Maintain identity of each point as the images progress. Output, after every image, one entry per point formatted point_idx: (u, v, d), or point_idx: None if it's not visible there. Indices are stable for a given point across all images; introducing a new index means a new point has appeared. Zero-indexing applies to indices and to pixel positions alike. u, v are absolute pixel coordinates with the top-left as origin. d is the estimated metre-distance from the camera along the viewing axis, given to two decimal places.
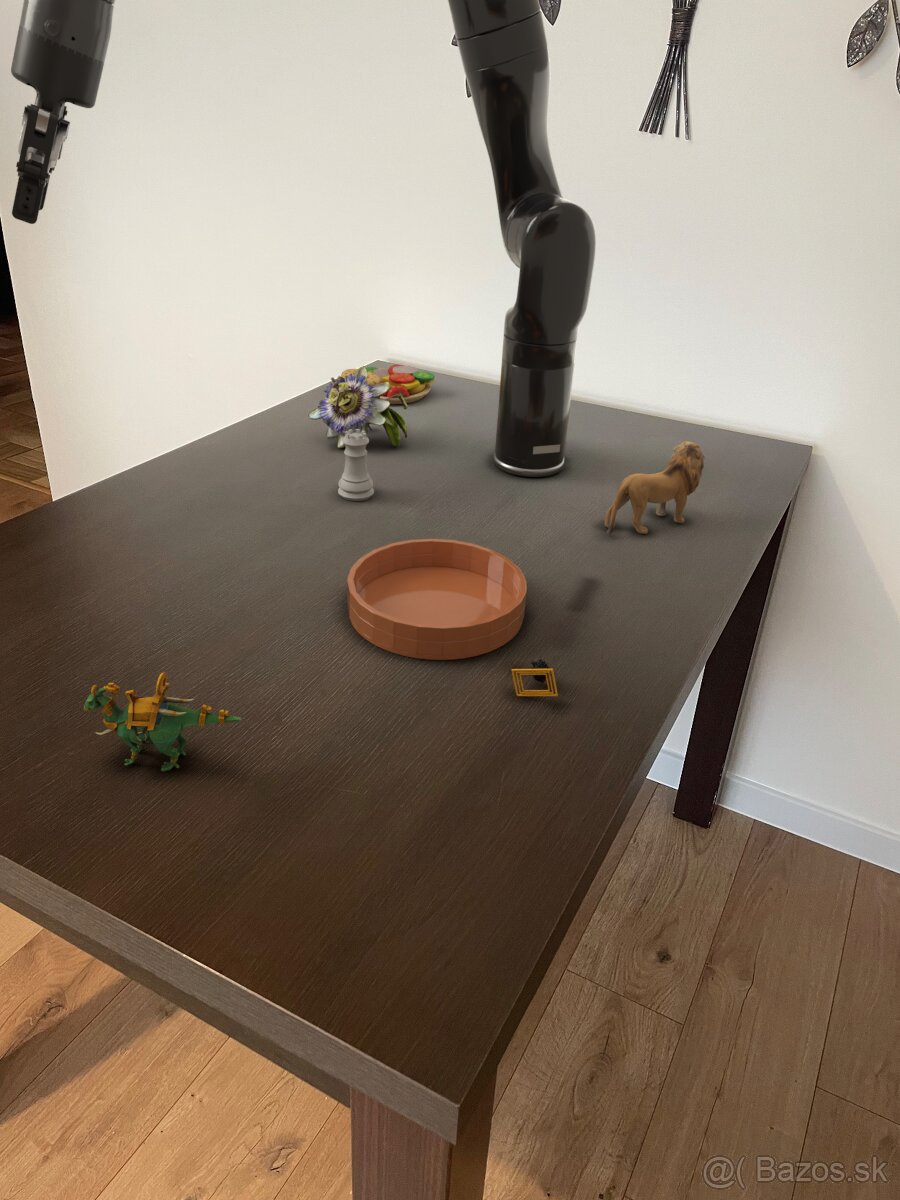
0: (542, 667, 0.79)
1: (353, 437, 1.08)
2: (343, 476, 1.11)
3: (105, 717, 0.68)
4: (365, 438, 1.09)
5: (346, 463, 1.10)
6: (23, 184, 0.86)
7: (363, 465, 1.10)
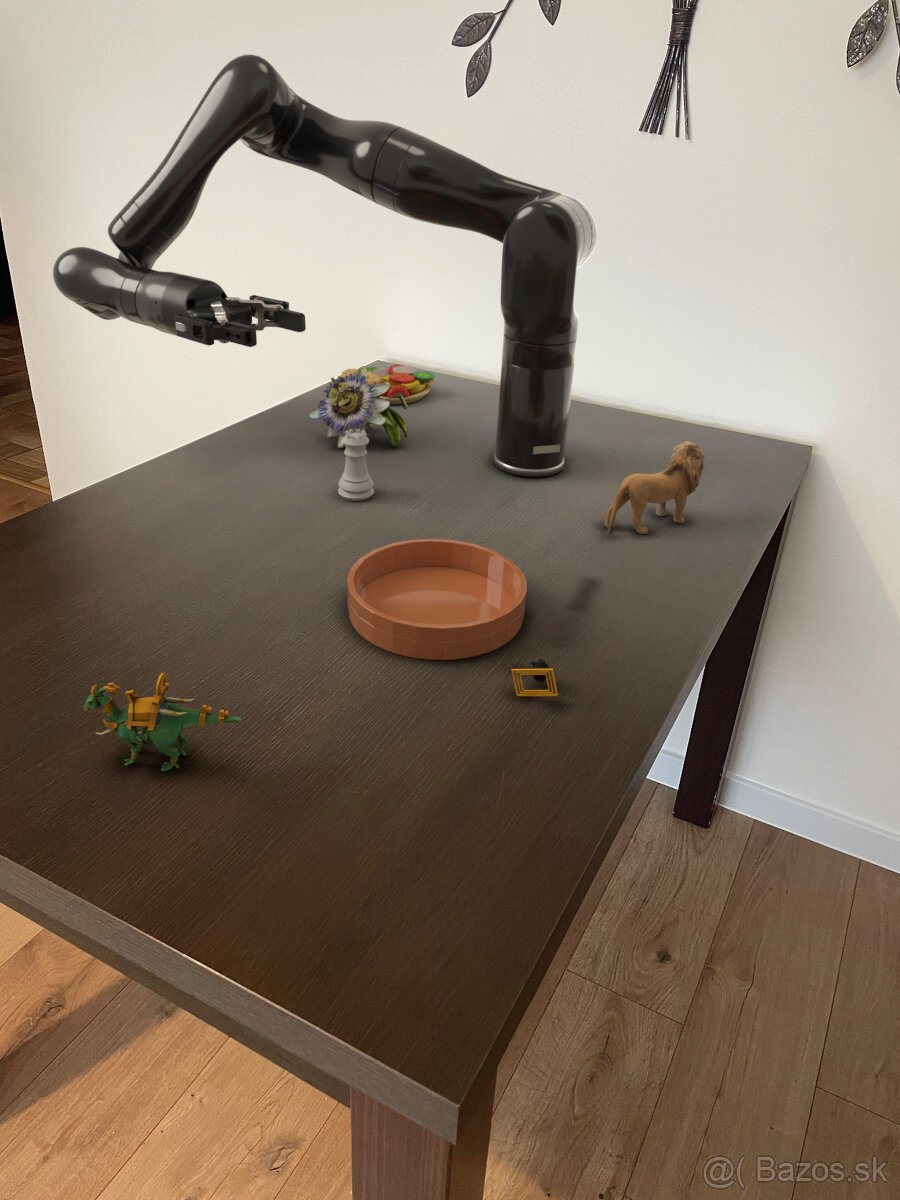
0: (542, 667, 0.79)
1: (353, 437, 1.08)
2: (343, 476, 1.11)
3: (105, 717, 0.68)
4: (365, 438, 1.09)
5: (346, 463, 1.10)
6: (226, 338, 1.06)
7: (363, 465, 1.10)
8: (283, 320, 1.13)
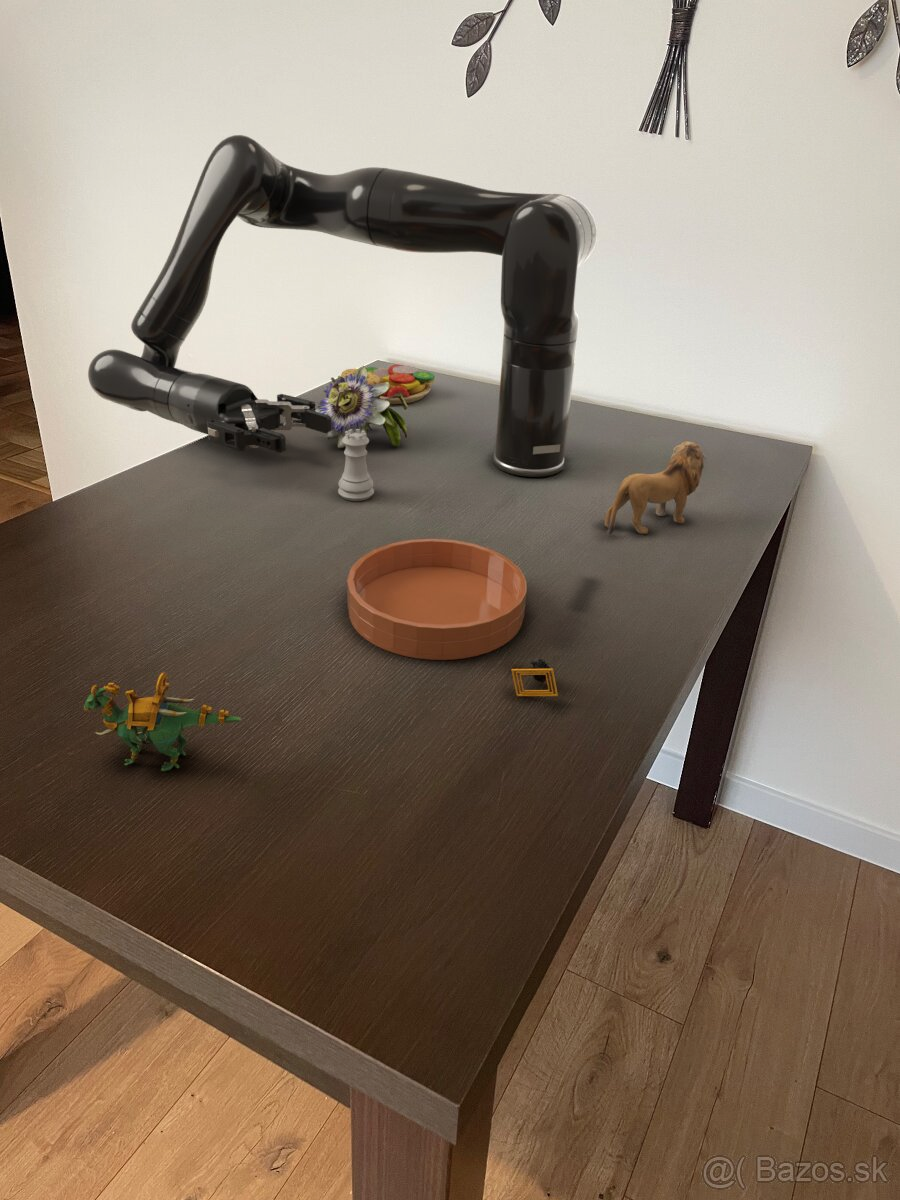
0: (542, 667, 0.79)
1: (353, 437, 1.08)
2: (343, 476, 1.11)
3: (105, 717, 0.68)
4: (365, 438, 1.09)
5: (346, 463, 1.10)
6: (257, 444, 1.11)
7: (363, 465, 1.10)
8: (310, 421, 1.18)
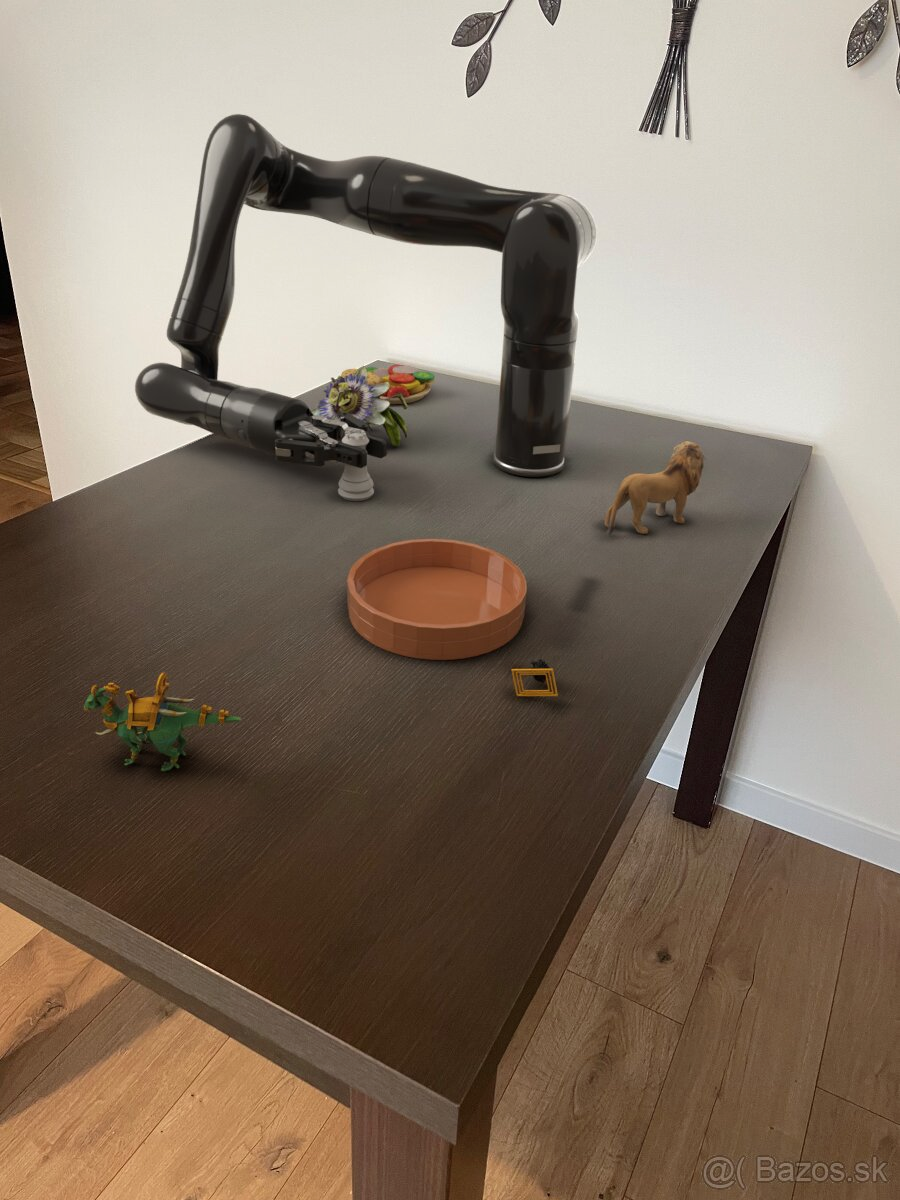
0: (542, 667, 0.79)
1: (353, 437, 1.08)
2: (343, 476, 1.11)
3: (105, 717, 0.68)
4: (365, 438, 1.09)
5: None
6: (336, 459, 1.08)
7: None
8: None
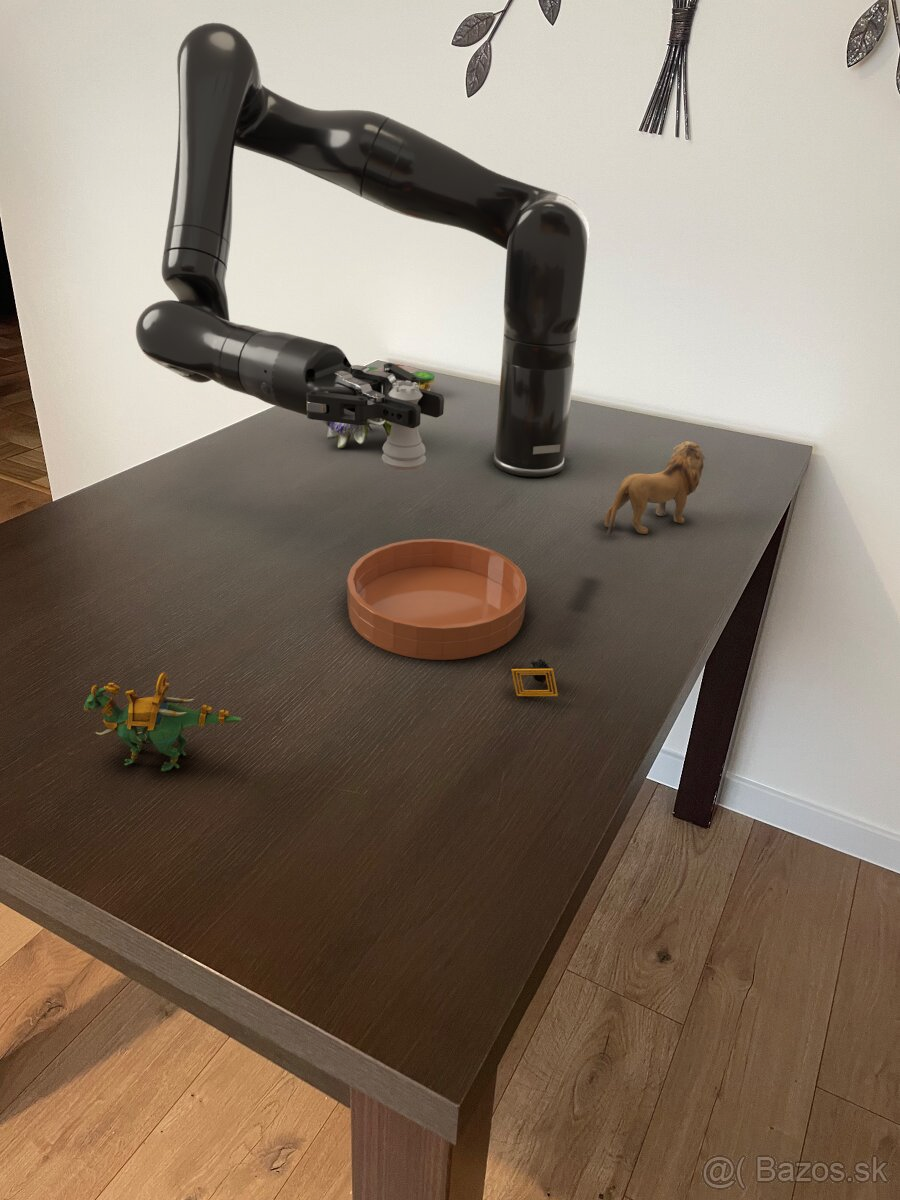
0: (542, 667, 0.79)
1: (403, 389, 0.87)
2: (389, 439, 0.90)
3: (105, 717, 0.68)
4: (418, 392, 0.88)
5: (393, 423, 0.90)
6: (382, 417, 0.87)
7: None
8: None
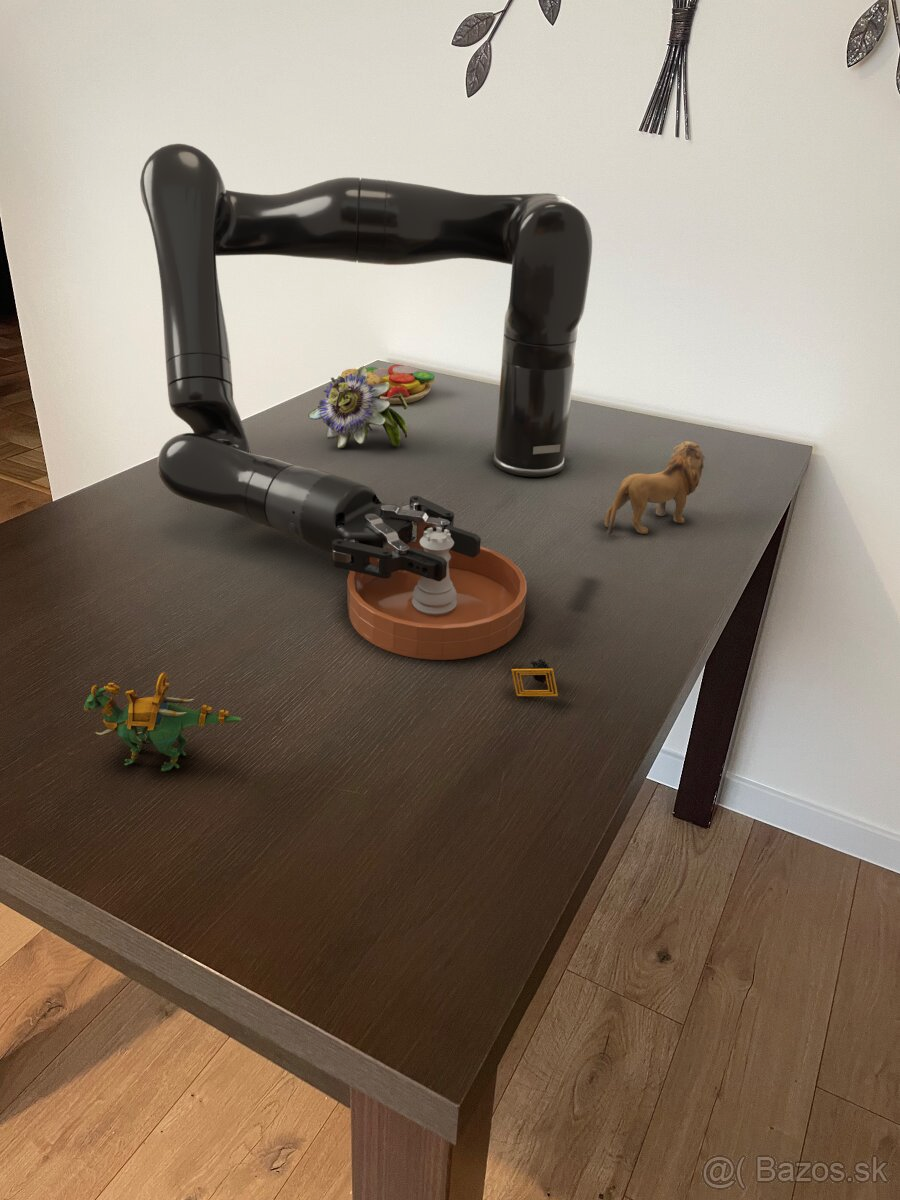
0: (542, 667, 0.79)
1: (435, 539, 0.85)
2: (419, 585, 0.89)
3: (105, 717, 0.68)
4: (450, 540, 0.86)
5: None
6: (407, 569, 0.85)
7: (446, 572, 0.88)
8: None
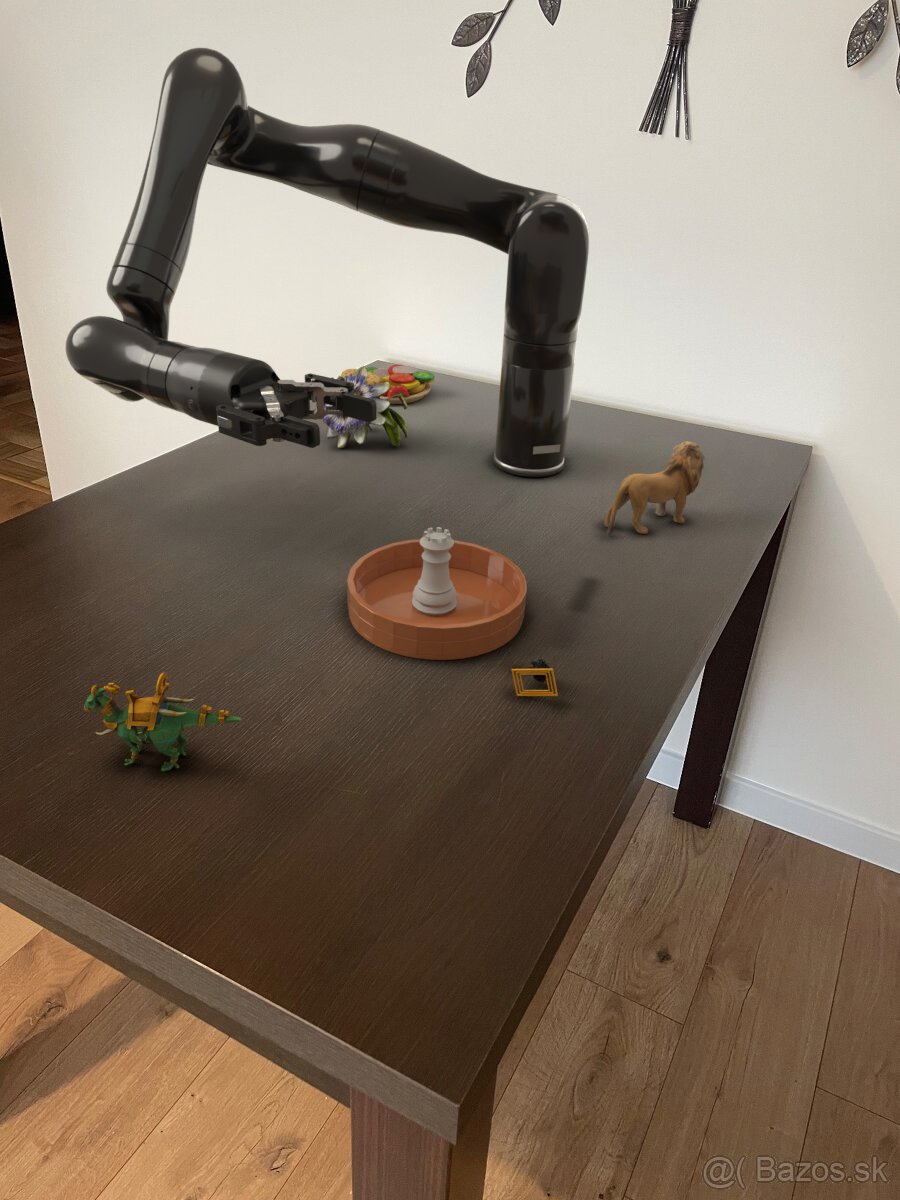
0: (542, 667, 0.79)
1: (435, 539, 0.85)
2: (419, 585, 0.89)
3: (105, 717, 0.68)
4: (450, 540, 0.86)
5: (424, 570, 0.88)
6: (282, 437, 0.85)
7: (446, 572, 0.88)
8: (348, 407, 0.91)
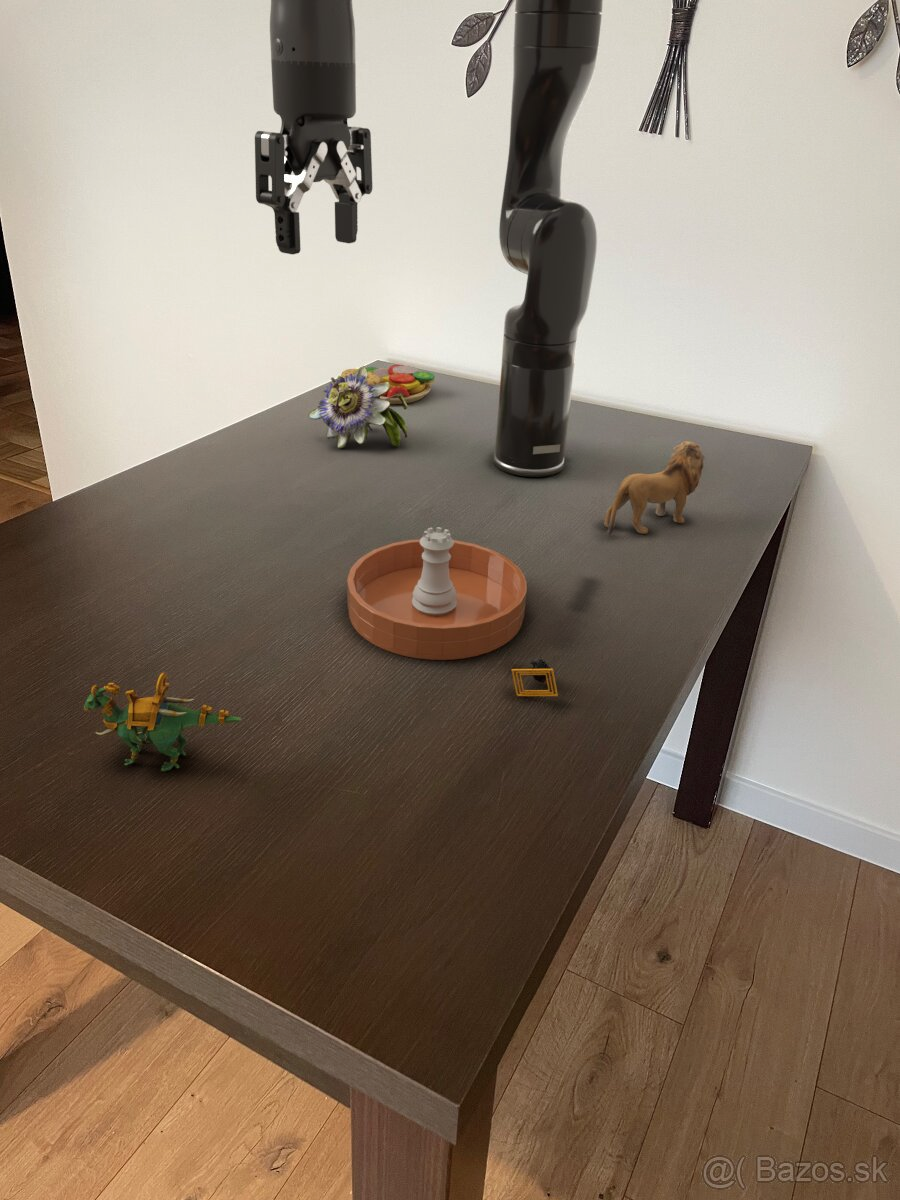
0: (542, 667, 0.79)
1: (435, 539, 0.85)
2: (419, 585, 0.89)
3: (105, 717, 0.68)
4: (450, 540, 0.86)
5: (424, 570, 0.88)
6: (275, 215, 0.85)
7: (446, 572, 0.88)
8: (342, 211, 0.92)
